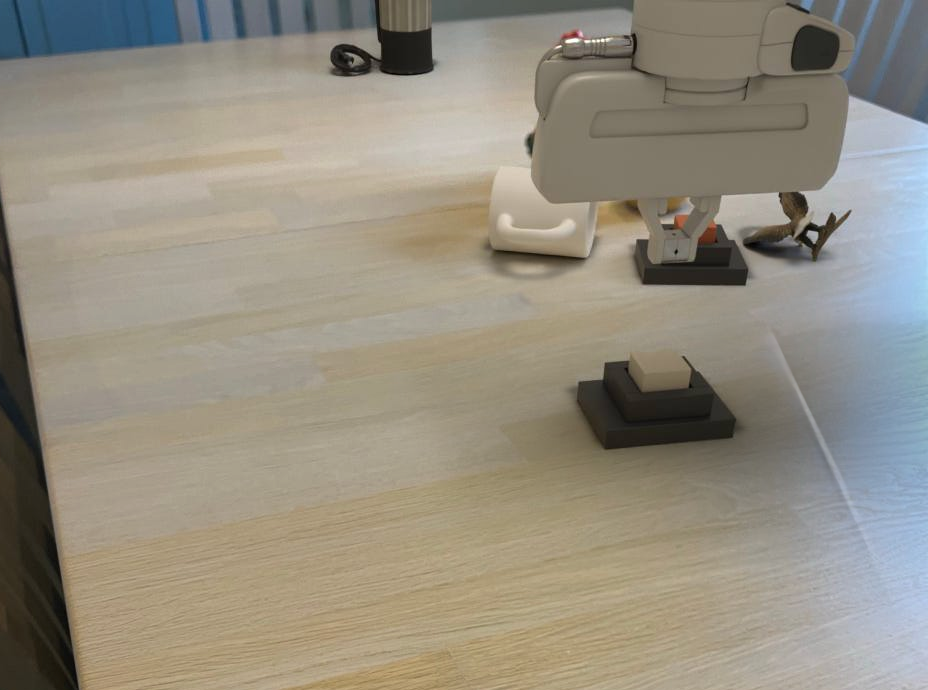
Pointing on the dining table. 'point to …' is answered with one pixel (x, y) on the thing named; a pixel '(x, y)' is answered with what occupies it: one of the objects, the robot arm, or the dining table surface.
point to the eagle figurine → (798, 224)
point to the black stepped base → (652, 411)
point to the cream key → (659, 370)
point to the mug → (537, 218)
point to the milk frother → (395, 39)
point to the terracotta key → (705, 237)
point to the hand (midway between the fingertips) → (670, 260)
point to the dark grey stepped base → (696, 264)
